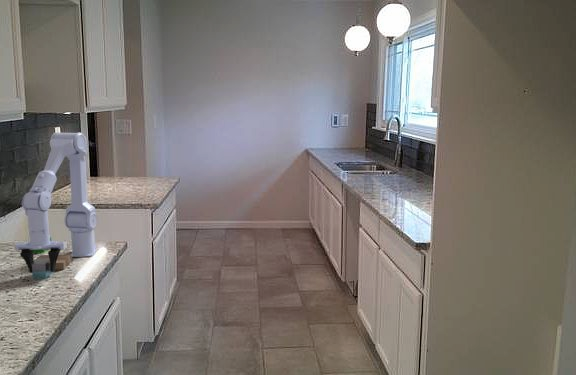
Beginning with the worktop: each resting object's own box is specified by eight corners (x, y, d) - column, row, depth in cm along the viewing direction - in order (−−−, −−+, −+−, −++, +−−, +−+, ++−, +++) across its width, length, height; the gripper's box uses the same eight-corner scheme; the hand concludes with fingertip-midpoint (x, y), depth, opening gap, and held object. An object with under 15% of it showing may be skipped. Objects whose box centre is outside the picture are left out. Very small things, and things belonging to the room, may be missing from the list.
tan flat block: (41, 262, 180) (40, 255, 180) (71, 261, 181) (71, 254, 181) (31, 271, 171) (31, 263, 171) (64, 269, 173) (63, 262, 172)
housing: (39, 273, 170) (38, 258, 169) (52, 272, 170) (51, 257, 169) (33, 279, 164) (31, 264, 163) (46, 279, 164) (45, 263, 163)
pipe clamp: (39, 255, 188) (38, 243, 187) (29, 255, 188) (28, 243, 188) (56, 246, 199) (55, 234, 198) (47, 246, 199) (46, 234, 198)
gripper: (9, 233, 160) (13, 276, 162) (59, 232, 161) (62, 274, 164) (18, 228, 166) (22, 269, 169) (66, 226, 168) (69, 267, 171)
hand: (42, 271), depth 167 cm, fingers open, 6 cm apart
